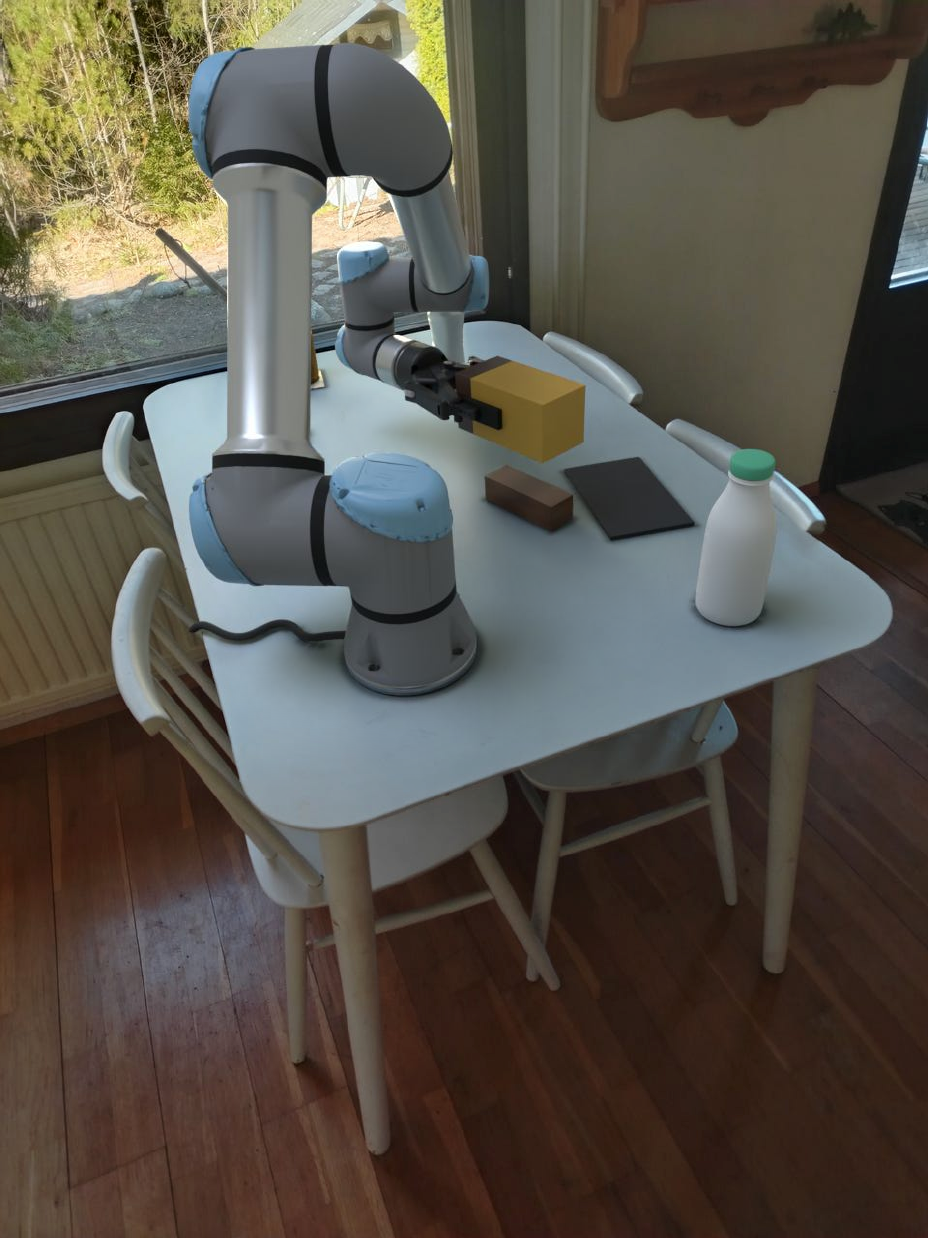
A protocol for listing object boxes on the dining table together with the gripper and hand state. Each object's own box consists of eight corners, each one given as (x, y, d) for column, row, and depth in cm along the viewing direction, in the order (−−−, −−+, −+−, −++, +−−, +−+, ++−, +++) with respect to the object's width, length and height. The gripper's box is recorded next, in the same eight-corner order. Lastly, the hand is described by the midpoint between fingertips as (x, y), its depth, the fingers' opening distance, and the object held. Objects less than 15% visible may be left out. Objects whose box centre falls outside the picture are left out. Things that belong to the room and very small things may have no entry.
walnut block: (485, 500, 125) (484, 475, 122) (507, 488, 127) (506, 464, 125) (551, 532, 117) (551, 507, 115) (573, 519, 119) (573, 494, 117)
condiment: (320, 370, 167) (310, 309, 160) (324, 387, 161) (314, 324, 153) (283, 376, 166) (271, 314, 159) (285, 392, 160) (273, 329, 152)
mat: (610, 540, 115) (610, 536, 114) (564, 472, 130) (564, 468, 130) (694, 525, 116) (694, 522, 116) (638, 459, 132) (638, 456, 131)
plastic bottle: (428, 386, 158) (419, 275, 146) (463, 380, 160) (456, 270, 147) (437, 400, 153) (428, 286, 141) (473, 393, 155) (467, 280, 142)
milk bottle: (763, 630, 98) (795, 476, 86) (694, 625, 100) (716, 473, 87) (759, 591, 104) (788, 442, 92) (694, 586, 105) (714, 439, 93)
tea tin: (583, 442, 113) (585, 384, 108) (542, 463, 109) (542, 405, 104) (499, 409, 123) (497, 355, 118) (458, 427, 119) (454, 372, 114)
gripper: (465, 370, 134) (574, 409, 121) (360, 413, 124) (467, 462, 110) (463, 322, 130) (576, 358, 116) (353, 363, 119) (464, 407, 105)
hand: (523, 408), depth 113 cm, fingers closed on tea tin, 8 cm apart
